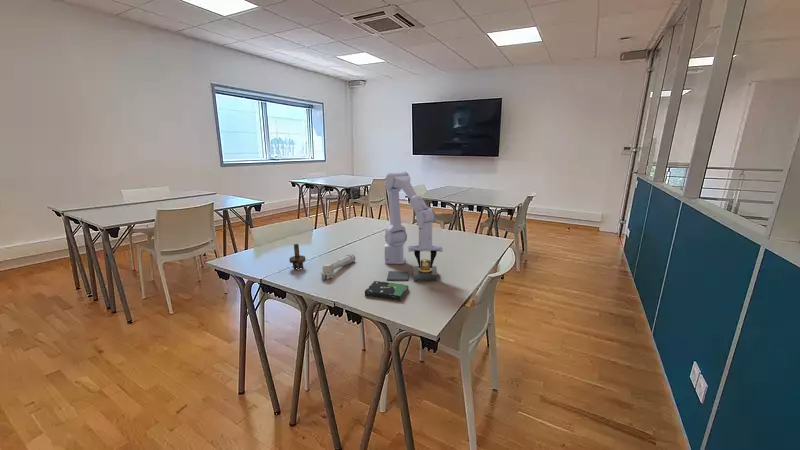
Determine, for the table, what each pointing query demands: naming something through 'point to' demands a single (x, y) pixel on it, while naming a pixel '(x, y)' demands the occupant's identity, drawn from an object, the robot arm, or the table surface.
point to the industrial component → (297, 258)
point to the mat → (397, 276)
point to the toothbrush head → (336, 266)
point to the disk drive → (387, 290)
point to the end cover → (425, 266)
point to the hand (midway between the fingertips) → (425, 267)
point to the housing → (425, 275)
